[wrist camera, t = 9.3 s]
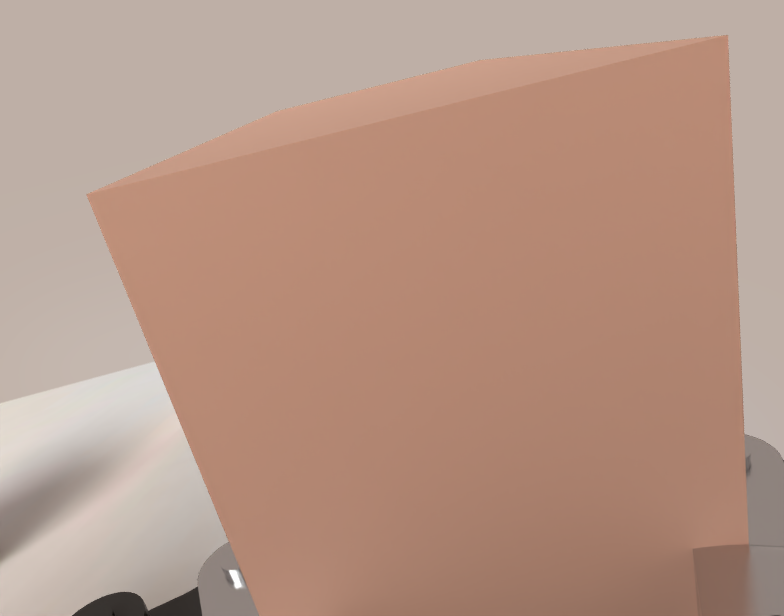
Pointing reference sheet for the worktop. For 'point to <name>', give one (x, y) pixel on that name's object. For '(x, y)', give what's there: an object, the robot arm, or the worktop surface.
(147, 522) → the worktop surface
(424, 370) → the terracotta book
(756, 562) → the robot arm
